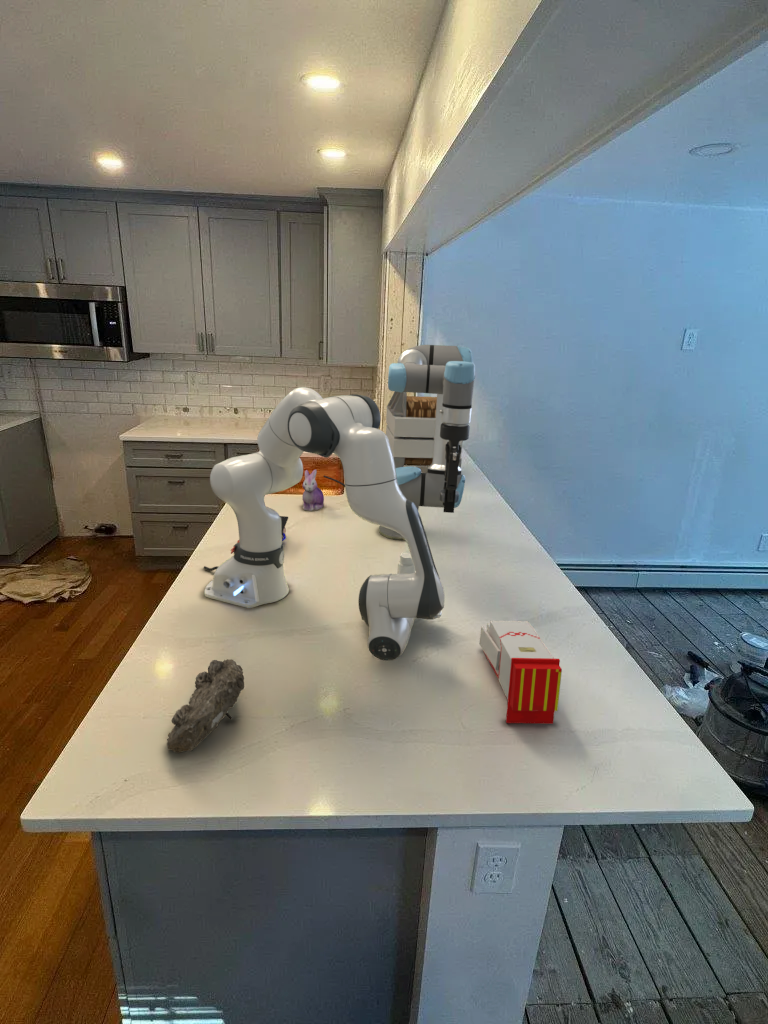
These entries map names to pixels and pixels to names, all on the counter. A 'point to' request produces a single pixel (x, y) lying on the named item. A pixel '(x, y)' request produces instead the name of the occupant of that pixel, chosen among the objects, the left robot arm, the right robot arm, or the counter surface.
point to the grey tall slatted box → (412, 429)
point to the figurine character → (283, 526)
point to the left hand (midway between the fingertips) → (405, 587)
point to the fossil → (206, 705)
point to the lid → (442, 496)
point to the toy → (523, 670)
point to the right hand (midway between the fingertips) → (448, 508)
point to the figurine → (312, 492)
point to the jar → (405, 564)
